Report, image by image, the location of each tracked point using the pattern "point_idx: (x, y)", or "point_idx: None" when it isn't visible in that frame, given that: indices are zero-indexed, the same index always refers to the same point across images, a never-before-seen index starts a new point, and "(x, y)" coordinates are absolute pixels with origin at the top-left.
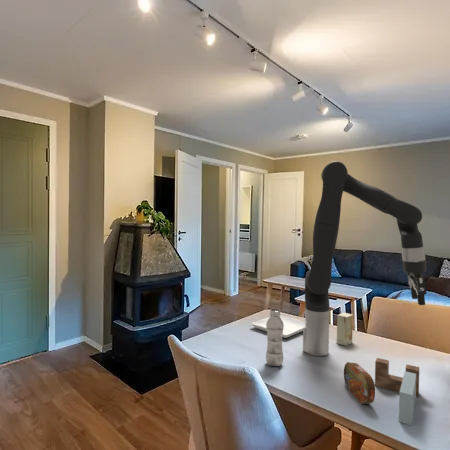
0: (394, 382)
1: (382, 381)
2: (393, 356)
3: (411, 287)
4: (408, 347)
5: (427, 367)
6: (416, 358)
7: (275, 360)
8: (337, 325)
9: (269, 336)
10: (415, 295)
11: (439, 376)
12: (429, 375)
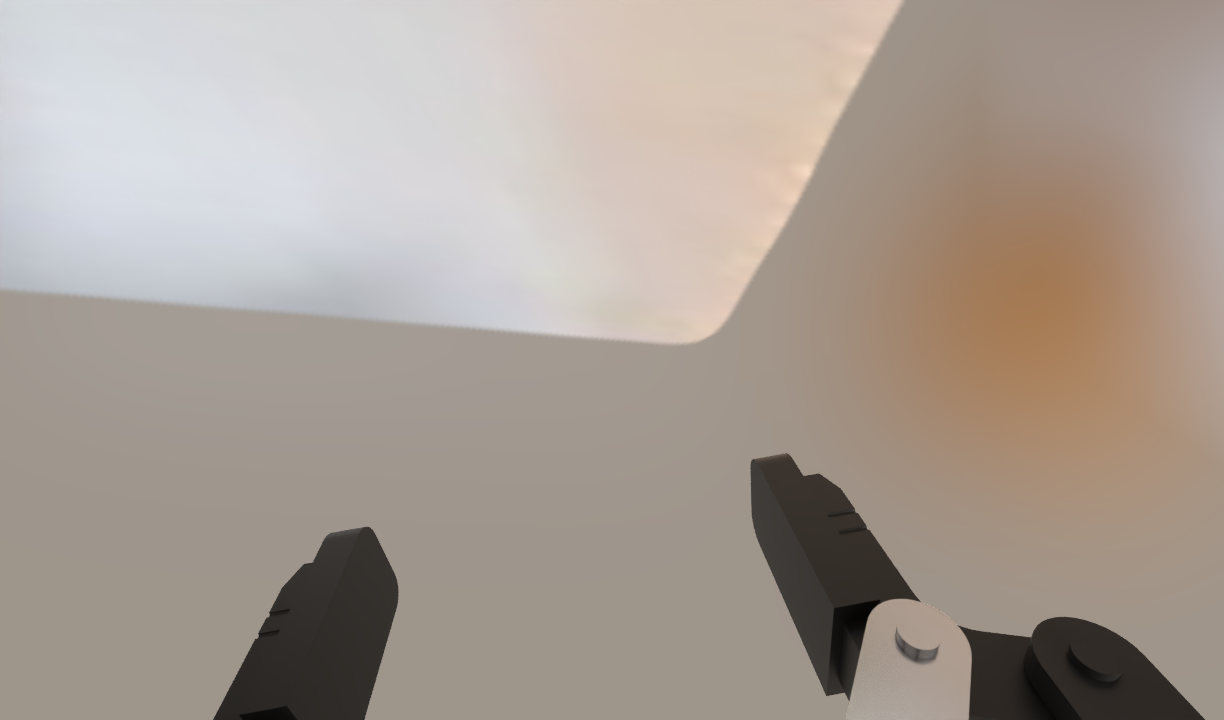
0: None
1: None
2: (520, 20)
3: (858, 673)
4: (759, 154)
5: (441, 243)
6: (564, 191)
7: None
8: None
9: None
10: (773, 543)
11: (340, 291)
12: (313, 242)
